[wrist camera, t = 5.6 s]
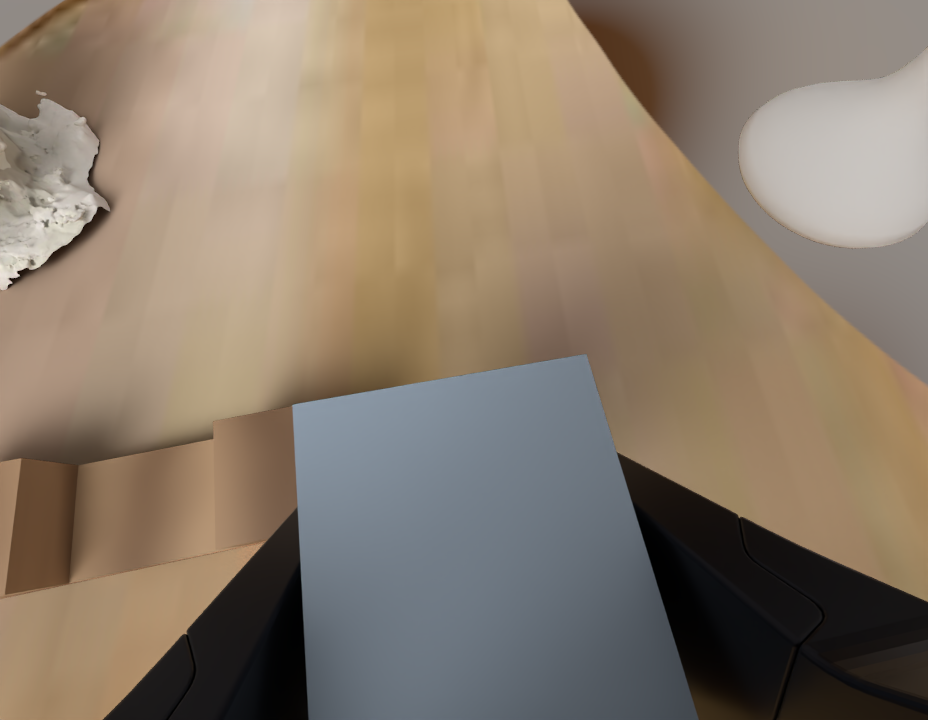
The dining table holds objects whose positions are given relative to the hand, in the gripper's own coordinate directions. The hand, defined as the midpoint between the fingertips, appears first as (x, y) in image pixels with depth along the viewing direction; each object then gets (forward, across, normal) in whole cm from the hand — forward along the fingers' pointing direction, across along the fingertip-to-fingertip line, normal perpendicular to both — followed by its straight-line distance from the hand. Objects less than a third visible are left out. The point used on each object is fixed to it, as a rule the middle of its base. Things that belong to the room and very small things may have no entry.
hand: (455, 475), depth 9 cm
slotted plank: (+11, +13, +7) cm, 19 cm away
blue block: (+5, 0, +7) cm, 8 cm away
